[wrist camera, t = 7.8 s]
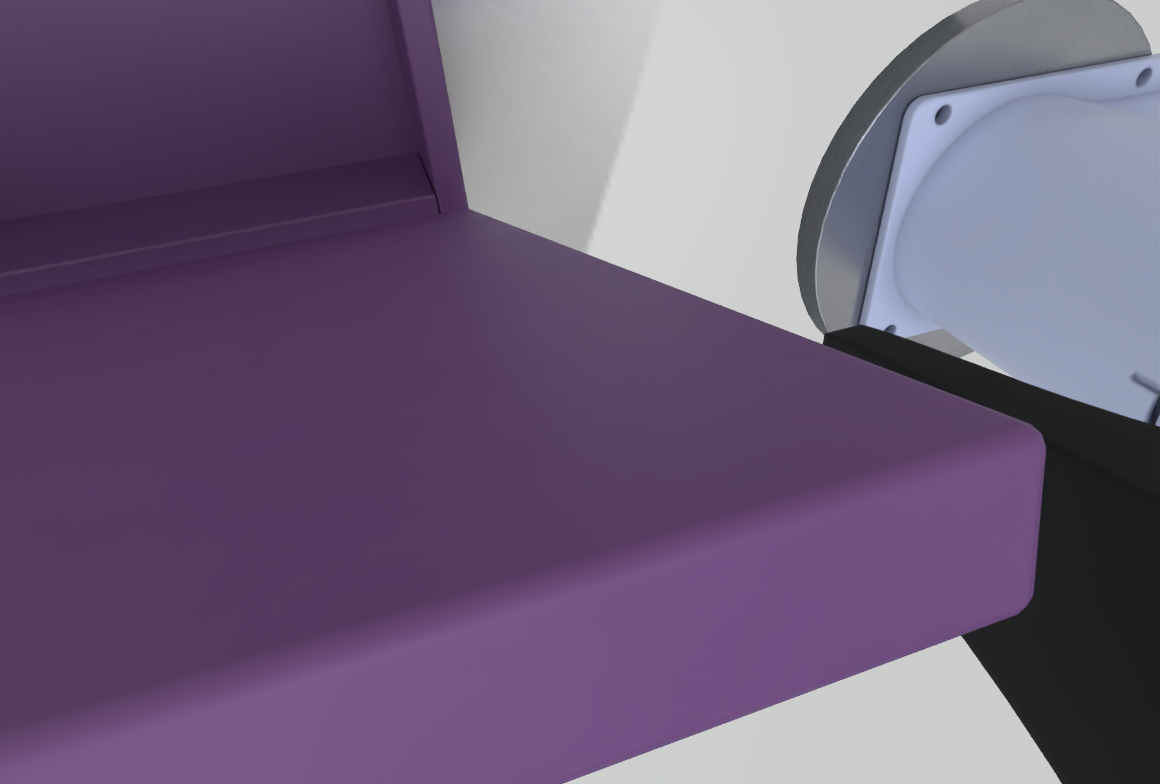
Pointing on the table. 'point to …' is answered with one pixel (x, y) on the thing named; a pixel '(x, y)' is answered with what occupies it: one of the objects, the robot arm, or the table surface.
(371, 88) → the purple box
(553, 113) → the table surface
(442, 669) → the box cover
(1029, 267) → the robot arm
